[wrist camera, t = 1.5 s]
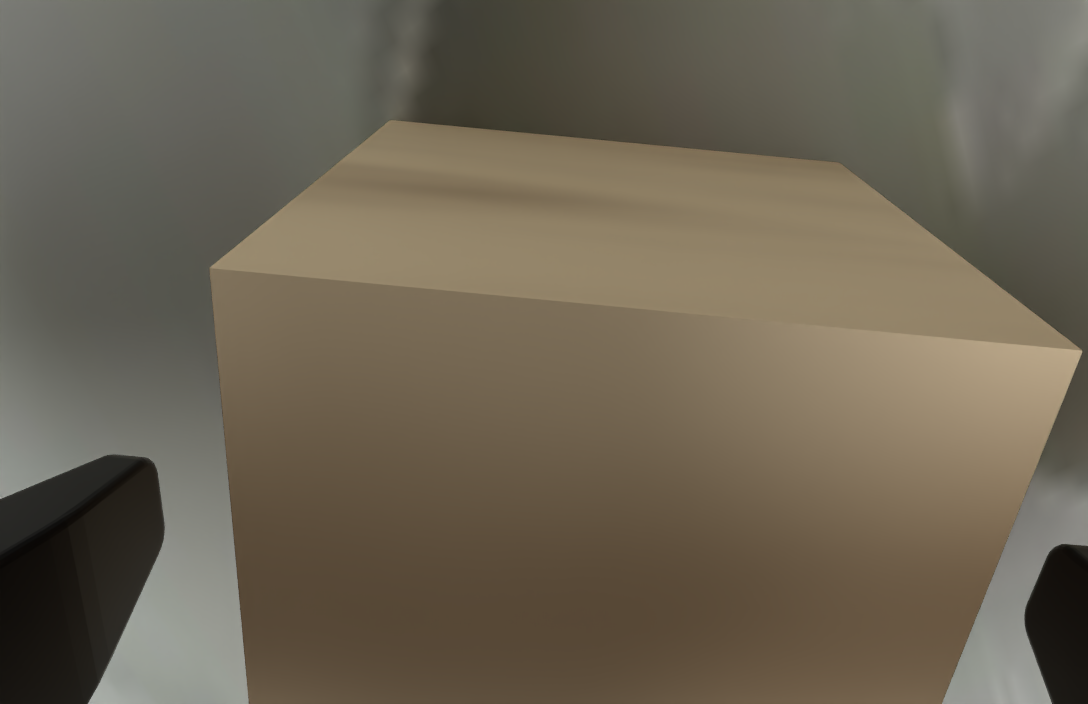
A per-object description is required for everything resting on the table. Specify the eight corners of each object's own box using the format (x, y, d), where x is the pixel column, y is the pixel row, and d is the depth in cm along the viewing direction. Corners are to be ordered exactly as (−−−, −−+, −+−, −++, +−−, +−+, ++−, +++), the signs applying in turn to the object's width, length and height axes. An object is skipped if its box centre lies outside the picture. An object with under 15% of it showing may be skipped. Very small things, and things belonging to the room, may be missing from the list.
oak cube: (752, 525, 14) (864, 897, 8) (388, 491, 14) (261, 839, 8) (838, 161, 11) (1082, 350, 6) (391, 119, 11) (208, 267, 6)
